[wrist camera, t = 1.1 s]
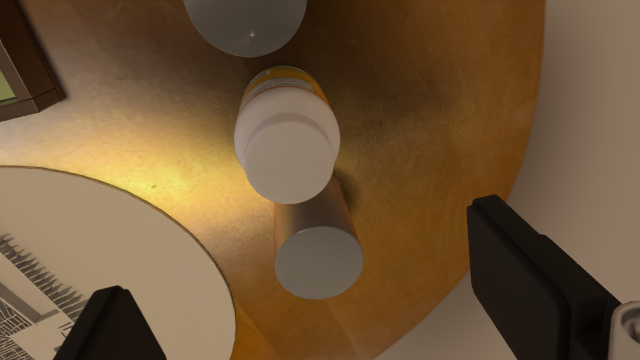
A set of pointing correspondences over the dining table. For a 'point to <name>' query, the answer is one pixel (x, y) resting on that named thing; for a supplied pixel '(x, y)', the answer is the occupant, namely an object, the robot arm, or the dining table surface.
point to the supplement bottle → (286, 135)
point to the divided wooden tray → (23, 68)
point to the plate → (101, 267)
